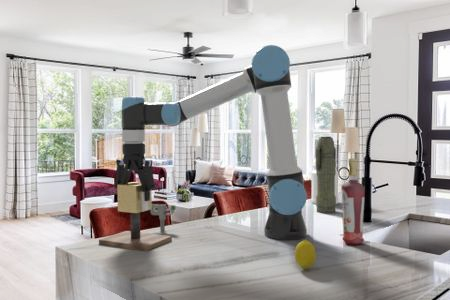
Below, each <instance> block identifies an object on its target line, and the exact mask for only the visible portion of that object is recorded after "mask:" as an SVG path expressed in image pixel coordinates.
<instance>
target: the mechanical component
mask: <svg viewBox="0 0 450 300" xmlns="http://www.w3.org/2000/svg"><path fill="white" fill-rule="evenodd" d="M176 209H177V207H176V205H174V204H171V205H170V207H169V208H168V206H167V203H165V204H164V203H152V209H150V210H149V211H150V214H151V215H152V216H158V217H159V218H158V219H159V220H160V221H159V223H160V224H159V225H160V226H159V227H160V230H159V231H160V232H164V231H165V230H166V229H165V223H166V222H165V220H166V219H167V218H166V216H171V215H173V214H175V211H176Z"/></svg>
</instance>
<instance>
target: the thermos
mask: <svg viewBox="0 0 450 300" xmlns="http://www.w3.org/2000/svg"><path fill="white" fill-rule="evenodd" d="M315 158H316V174H317V197H316V204H315V207H316V212H317V213H319V214H335V213H336V207H337V204H336V197H335V174H336V170H337V167H336V162H337V159H336V158H337V149H336V147H335V141H334V139H333V137H331V136H320V137H319V138H318V141H317V147H316V148H315Z"/></svg>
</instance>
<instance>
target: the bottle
mask: <svg viewBox="0 0 450 300" xmlns="http://www.w3.org/2000/svg"><path fill="white" fill-rule="evenodd" d="M311 166H312V168H313V170H312V171H311V173H310V174H311V200H310V201H311V203H312V204H313V205H316V197H317V174H316V157H314V159H313V161H312V164H311ZM338 166H339V165H338V162H337V161H336V168H337V167H338ZM335 197H336V205H338V204H339V201H340V200H339V171H338V170H337V169H336V174H335Z"/></svg>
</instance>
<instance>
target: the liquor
mask: <svg viewBox="0 0 450 300" xmlns="http://www.w3.org/2000/svg"><path fill="white" fill-rule="evenodd" d="M348 165H349V172H348V180H347V182H346V183H343V184H342V185H341V203H342V205H341V206H342V220H343V221H342V222H343V223H342V225H343V227H342V228H343V237H342V241H343V242H344V243H345V244H346V245H350V246H359V245H361V244H362V243H363V242H364V241H365V239H364V237H363V233H364V232H363V231H364V228H363V227H364V211H365V191H366V190H365V189H366V188H365V187H366V186H365V185H364V184H362V183H360V182H358V181H359V180H358V171H357V170H358V169H357V166H358V158H348Z"/></svg>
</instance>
